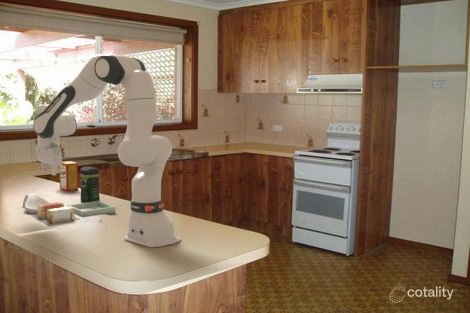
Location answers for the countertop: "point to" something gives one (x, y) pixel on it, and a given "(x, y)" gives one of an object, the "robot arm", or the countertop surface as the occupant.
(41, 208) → the fuse
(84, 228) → the countertop surface
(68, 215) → the fuse holder
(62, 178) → the baking soda box
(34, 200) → the spoon rest
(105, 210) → the tray
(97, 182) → the coffee jar
